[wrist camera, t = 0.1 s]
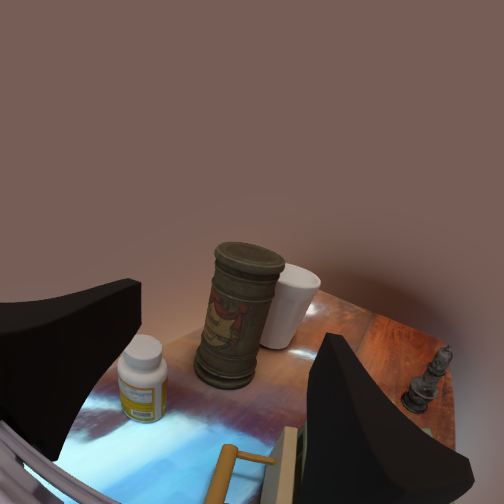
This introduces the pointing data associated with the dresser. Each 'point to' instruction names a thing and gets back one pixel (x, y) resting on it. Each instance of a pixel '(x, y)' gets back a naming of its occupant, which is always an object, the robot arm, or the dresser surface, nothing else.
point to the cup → (289, 305)
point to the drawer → (276, 476)
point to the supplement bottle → (143, 379)
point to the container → (237, 313)
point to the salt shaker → (427, 382)
